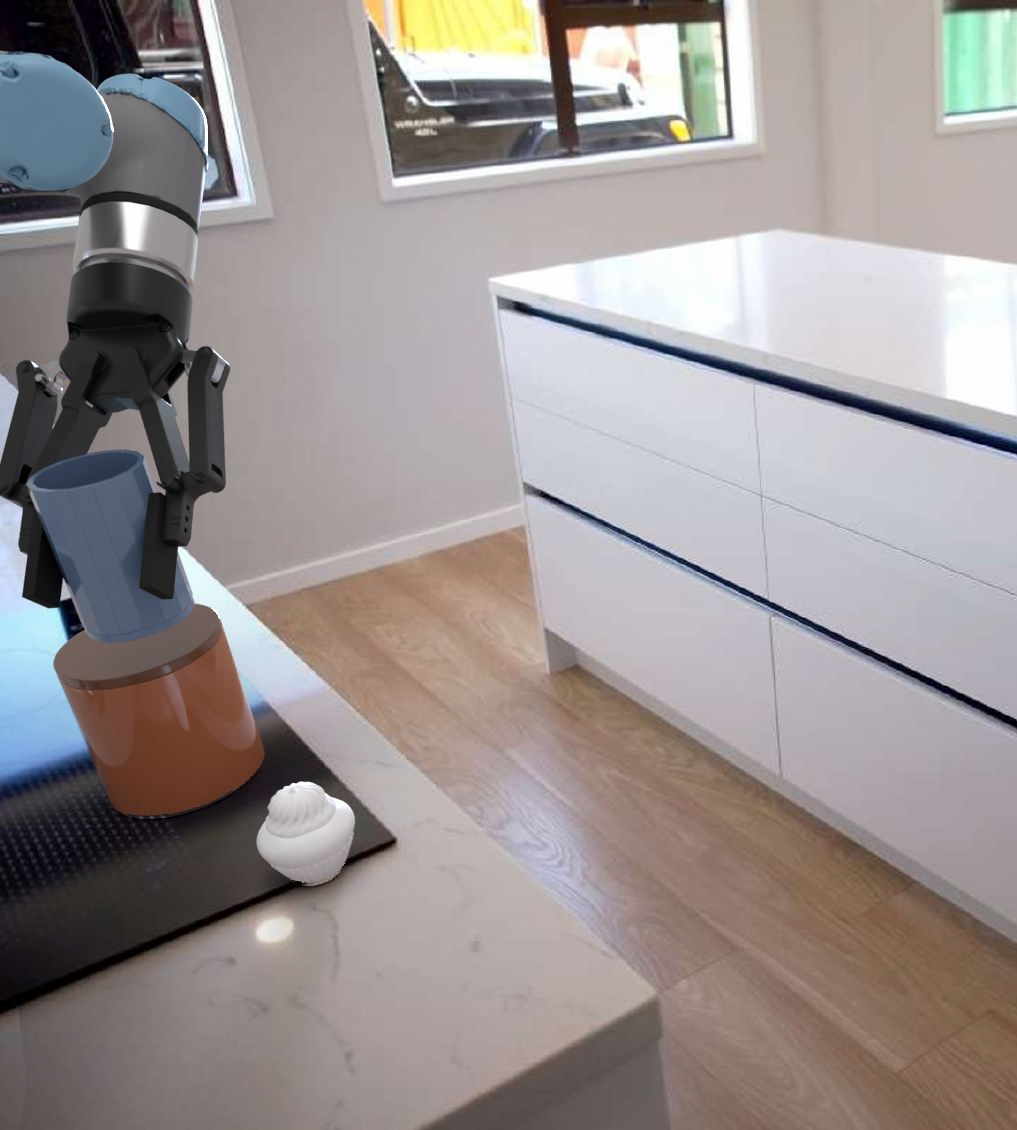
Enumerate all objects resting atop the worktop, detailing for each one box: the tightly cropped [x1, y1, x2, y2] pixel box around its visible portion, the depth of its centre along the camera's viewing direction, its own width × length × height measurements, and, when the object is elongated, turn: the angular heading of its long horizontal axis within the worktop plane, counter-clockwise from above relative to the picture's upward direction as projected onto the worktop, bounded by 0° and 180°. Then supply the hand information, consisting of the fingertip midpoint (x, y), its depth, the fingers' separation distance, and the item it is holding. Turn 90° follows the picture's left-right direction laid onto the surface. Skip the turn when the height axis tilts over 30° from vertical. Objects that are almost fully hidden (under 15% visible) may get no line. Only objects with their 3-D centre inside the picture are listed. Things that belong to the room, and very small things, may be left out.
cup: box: [26, 449, 196, 643], centre depth 86 cm, size 7×7×11 cm
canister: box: [52, 602, 266, 816], centre depth 95 cm, size 11×11×12 cm
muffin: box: [256, 781, 356, 883], centre depth 85 cm, size 6×6×7 cm
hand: (98, 597), depth 83 cm, fingers closed on cup, 7 cm apart
